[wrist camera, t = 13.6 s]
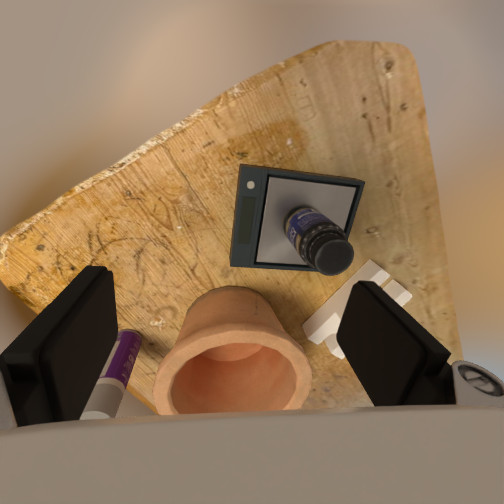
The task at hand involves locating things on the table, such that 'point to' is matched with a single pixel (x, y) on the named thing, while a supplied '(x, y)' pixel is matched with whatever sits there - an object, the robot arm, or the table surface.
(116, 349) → the container
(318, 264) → the pill bottle
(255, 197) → the scale
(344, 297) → the block with arch cutout
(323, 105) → the table surface
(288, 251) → the scale pan
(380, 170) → the table surface
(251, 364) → the pottery
